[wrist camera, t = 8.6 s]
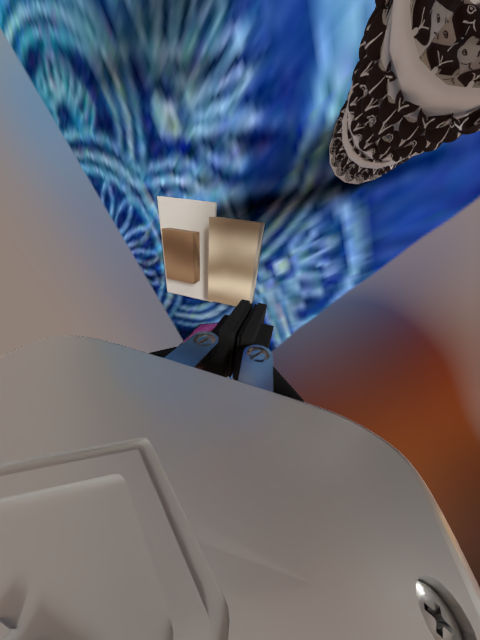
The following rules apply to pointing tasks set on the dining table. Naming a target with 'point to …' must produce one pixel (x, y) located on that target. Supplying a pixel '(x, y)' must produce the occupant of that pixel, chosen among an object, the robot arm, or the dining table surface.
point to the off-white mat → (192, 219)
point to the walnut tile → (182, 254)
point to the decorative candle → (409, 86)
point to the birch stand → (233, 259)
